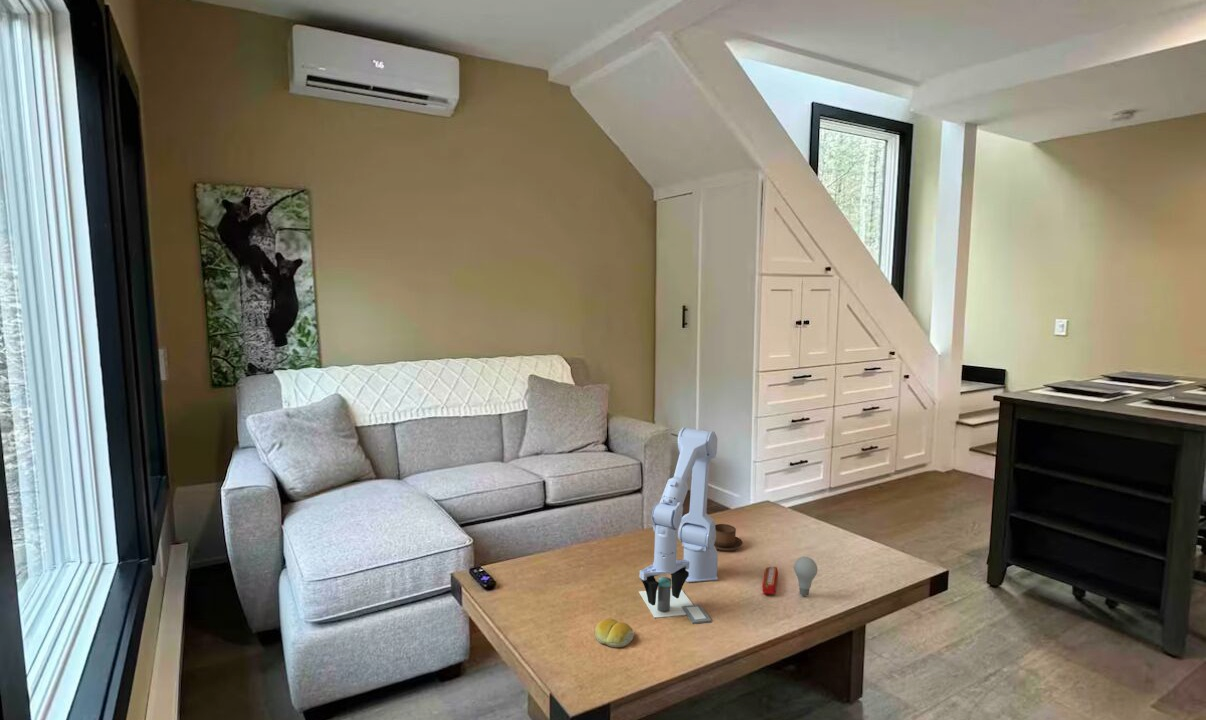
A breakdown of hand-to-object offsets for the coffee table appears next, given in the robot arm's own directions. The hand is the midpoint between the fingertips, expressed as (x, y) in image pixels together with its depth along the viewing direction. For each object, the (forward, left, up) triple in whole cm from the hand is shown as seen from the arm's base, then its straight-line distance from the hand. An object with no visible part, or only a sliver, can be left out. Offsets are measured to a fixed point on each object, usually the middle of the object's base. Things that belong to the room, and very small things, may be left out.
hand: (663, 600), depth 164 cm
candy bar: (-35, -8, -3) cm, 36 cm away
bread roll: (+16, +10, -3) cm, 19 cm away
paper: (-3, -4, -3) cm, 5 cm away
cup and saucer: (-33, -36, -3) cm, 48 cm away
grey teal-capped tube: (0, 0, -2) cm, 3 cm away
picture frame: (-8, +4, -3) cm, 9 cm away
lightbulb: (-41, 0, -3) cm, 41 cm away
